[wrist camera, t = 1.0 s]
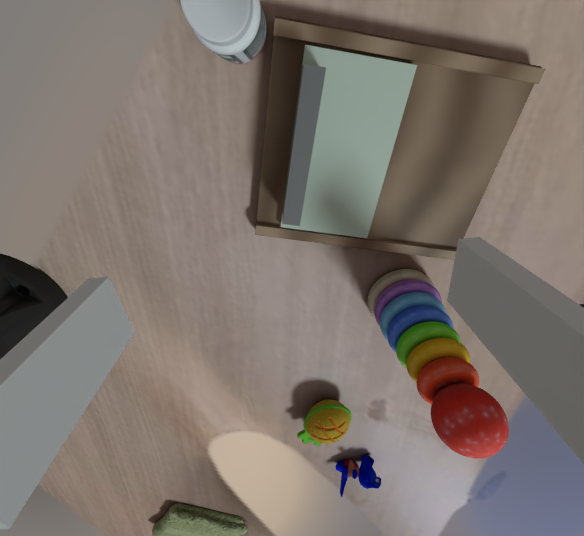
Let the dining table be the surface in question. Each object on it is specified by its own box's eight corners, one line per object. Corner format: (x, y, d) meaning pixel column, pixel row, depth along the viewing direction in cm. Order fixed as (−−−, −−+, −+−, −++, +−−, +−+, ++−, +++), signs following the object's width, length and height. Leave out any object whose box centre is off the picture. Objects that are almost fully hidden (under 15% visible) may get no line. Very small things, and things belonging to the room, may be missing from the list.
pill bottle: (253, -22, 22) (237, -82, 15) (275, 51, 25) (270, 30, 17) (196, 4, 23) (155, -42, 16) (222, 73, 25) (196, 61, 18)
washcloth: (225, 538, 71) (222, 556, 68) (152, 522, 66) (146, 540, 63) (251, 516, 65) (249, 534, 63) (174, 496, 61) (169, 515, 58)
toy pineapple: (356, 395, 46) (364, 428, 41) (327, 432, 50) (331, 465, 45) (316, 383, 44) (320, 417, 40) (290, 422, 49) (290, 456, 44)
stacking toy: (354, 287, 36) (410, 441, 20) (415, 253, 34) (535, 394, 18) (383, 328, 39) (452, 490, 23) (440, 300, 37) (562, 455, 21)
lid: (280, 225, 30) (280, 239, 27) (304, 45, 23) (307, 37, 20) (365, 236, 31) (374, 251, 28) (414, 65, 24) (433, 60, 21)
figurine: (377, 462, 55) (384, 492, 51) (337, 469, 56) (341, 499, 52) (372, 449, 53) (379, 479, 49) (331, 456, 54) (334, 486, 50)
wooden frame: (256, 230, 32) (254, 236, 31) (275, 20, 24) (275, 14, 22) (448, 254, 34) (455, 261, 33) (531, 68, 25) (546, 66, 24)
